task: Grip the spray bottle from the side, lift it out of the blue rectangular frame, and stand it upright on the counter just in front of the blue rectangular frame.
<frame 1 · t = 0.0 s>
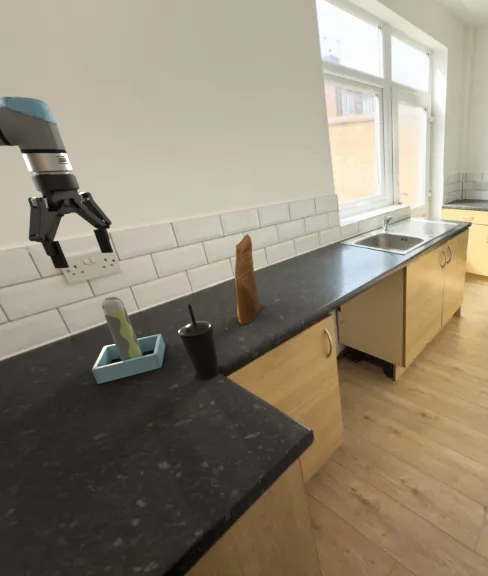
hand: (86, 259, 83), 29 cm above the countertop, tool pointing down, fingers open, 13 cm apart
blue rectangular frame: (134, 363, 88), on the countertop
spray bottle: (135, 364, 88), resting in blue rectangular frame
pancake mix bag: (252, 315, 115), on the countertop
drinking cup: (208, 374, 83), on the countertop
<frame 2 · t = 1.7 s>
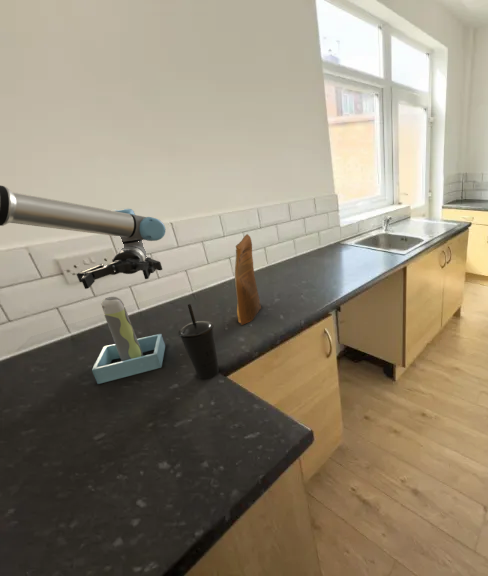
hand: (116, 279, 89), 22 cm above the countertop, tool horizontal, fingers open, 13 cm apart
nothing on the countertop moved.
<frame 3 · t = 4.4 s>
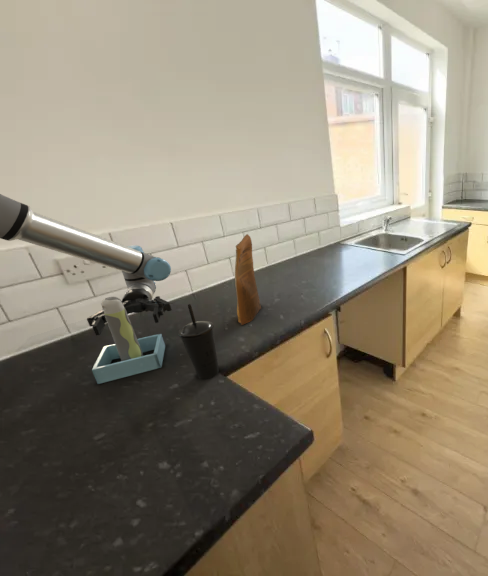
hand: (126, 324, 89), 10 cm above the countertop, tool horizontal, fingers open, 13 cm apart
nothing on the countertop moved.
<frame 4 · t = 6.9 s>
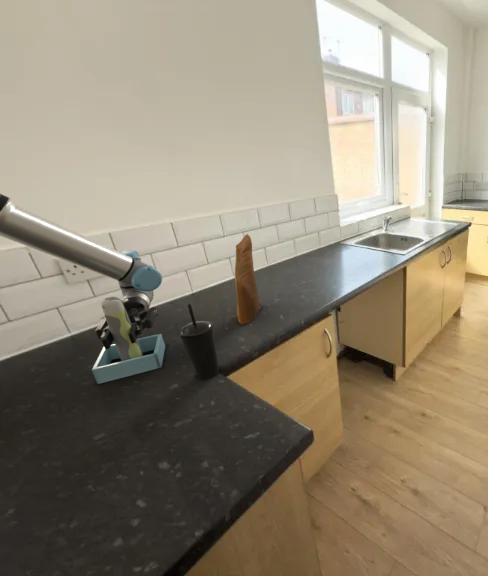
hand: (118, 341, 80), 10 cm above the countertop, tool horizontal, fingers closed on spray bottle, 5 cm apart
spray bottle: (135, 364, 88), resting in blue rectangular frame, touching gripper
everything else where it was.
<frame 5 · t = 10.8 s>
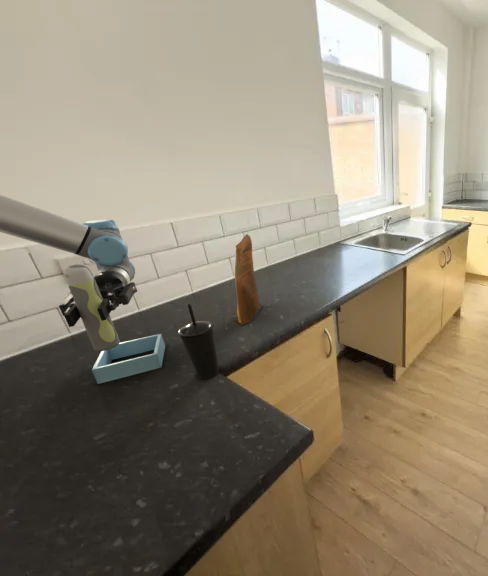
hand: (85, 317, 67), 22 cm above the countertop, tool horizontal, fingers closed on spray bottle, 5 cm apart
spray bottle: (108, 347, 75), point 12 cm above the countertop, touching gripper
everything else where it was.
when the fingers open (10 cm above the countertop, at t = 14.5 s): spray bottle stays where it is, on the countertop.
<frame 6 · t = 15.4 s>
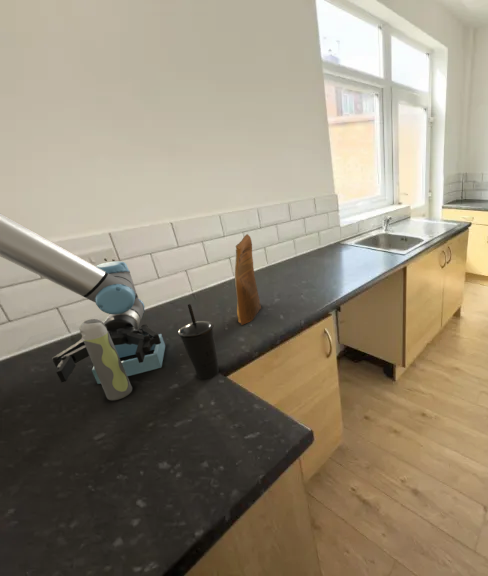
hand: (101, 366, 70), 10 cm above the countertop, tool horizontal, fingers open, 13 cm apart
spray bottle: (120, 395, 77), on the countertop
everything else where it was.
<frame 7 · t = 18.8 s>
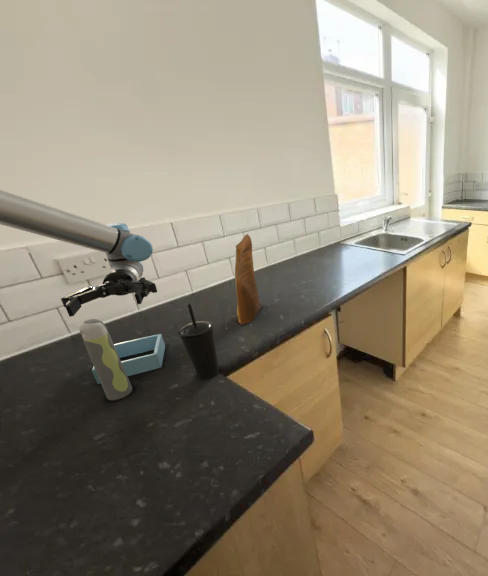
hand: (104, 305, 80), 19 cm above the countertop, tool horizontal, fingers open, 13 cm apart
nothing on the countertop moved.
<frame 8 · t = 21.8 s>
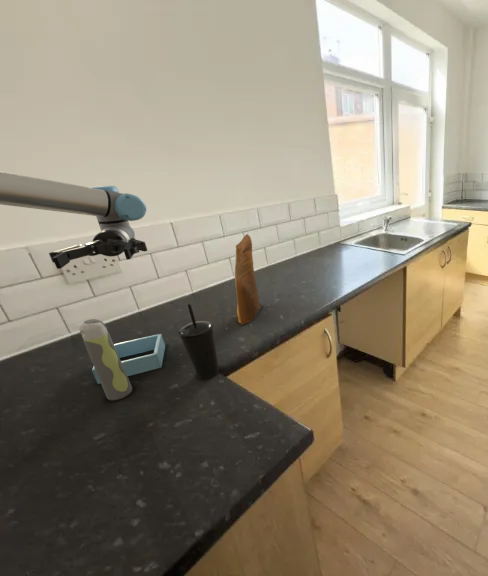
hand: (93, 258, 79), 30 cm above the countertop, tool horizontal, fingers open, 13 cm apart
nothing on the countertop moved.
at the end: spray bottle inside the target area (0.7 cm from its centre), on the countertop; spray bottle tilted 0°; the gripper is holding nothing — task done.
